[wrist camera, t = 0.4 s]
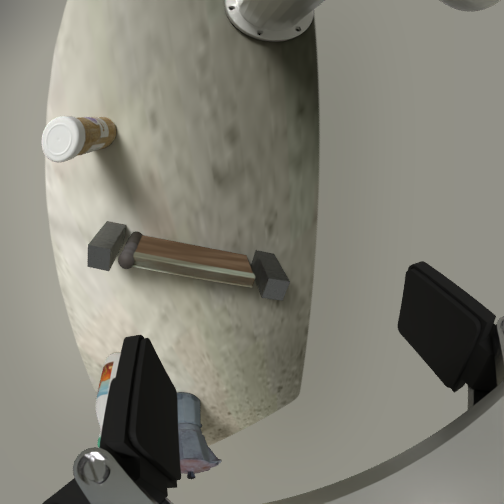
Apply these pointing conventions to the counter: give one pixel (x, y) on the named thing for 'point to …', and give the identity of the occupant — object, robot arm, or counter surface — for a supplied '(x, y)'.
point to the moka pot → (192, 438)
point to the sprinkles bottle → (76, 136)
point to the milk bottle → (106, 386)
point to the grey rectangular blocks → (263, 264)
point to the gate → (186, 260)
